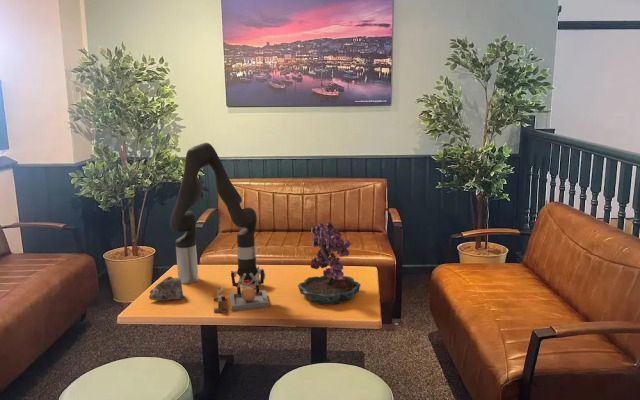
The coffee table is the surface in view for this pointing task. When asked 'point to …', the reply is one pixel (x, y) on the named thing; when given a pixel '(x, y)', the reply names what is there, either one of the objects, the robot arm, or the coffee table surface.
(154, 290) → the mineral rock
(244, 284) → the teacup with lid
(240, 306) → the tray
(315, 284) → the bonsai tree
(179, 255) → the robot arm
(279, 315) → the coffee table surface
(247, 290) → the ball
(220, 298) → the fence
